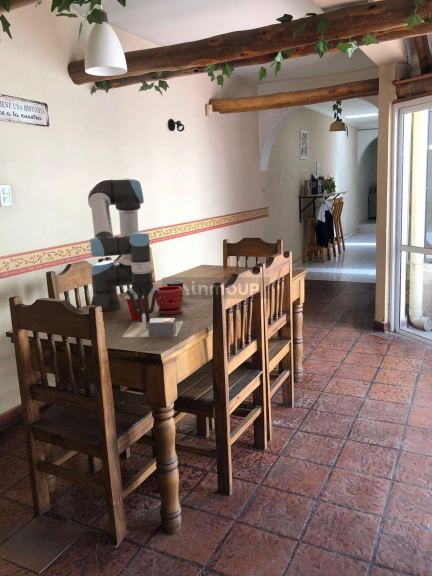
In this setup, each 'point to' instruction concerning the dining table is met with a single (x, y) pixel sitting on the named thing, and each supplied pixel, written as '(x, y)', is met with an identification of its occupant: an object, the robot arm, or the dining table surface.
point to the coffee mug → (175, 283)
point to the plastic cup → (132, 313)
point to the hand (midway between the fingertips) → (145, 329)
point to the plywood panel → (137, 331)
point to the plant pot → (169, 299)
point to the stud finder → (162, 327)
